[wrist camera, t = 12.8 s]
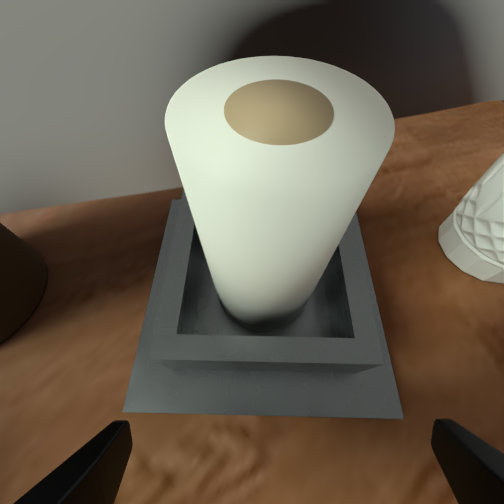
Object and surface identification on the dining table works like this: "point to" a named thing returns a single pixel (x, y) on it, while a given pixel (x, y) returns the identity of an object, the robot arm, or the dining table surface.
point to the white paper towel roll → (274, 174)
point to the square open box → (261, 342)
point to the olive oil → (18, 281)
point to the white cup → (478, 228)
